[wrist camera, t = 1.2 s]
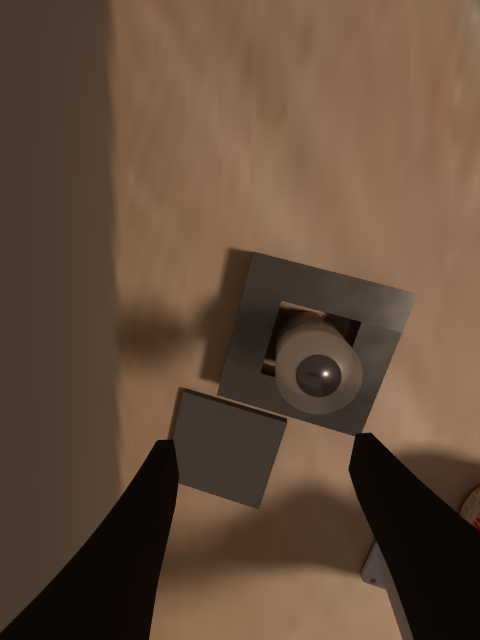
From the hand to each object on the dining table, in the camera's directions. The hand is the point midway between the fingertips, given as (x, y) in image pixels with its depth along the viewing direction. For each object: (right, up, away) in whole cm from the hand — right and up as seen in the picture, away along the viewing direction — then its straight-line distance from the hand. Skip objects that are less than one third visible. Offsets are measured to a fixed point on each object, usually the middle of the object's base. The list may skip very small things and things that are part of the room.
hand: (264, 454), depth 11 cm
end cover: (+4, +4, +11) cm, 12 cm away
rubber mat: (-2, -6, +14) cm, 15 cm away
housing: (+4, +4, +11) cm, 12 cm away
